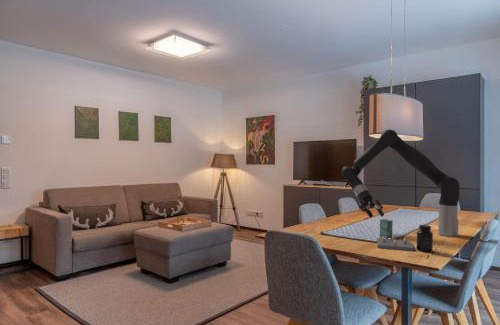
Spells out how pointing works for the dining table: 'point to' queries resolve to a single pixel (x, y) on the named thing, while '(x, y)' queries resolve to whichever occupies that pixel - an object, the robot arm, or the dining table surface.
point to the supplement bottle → (424, 239)
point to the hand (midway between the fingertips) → (377, 216)
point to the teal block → (386, 228)
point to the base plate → (394, 244)
